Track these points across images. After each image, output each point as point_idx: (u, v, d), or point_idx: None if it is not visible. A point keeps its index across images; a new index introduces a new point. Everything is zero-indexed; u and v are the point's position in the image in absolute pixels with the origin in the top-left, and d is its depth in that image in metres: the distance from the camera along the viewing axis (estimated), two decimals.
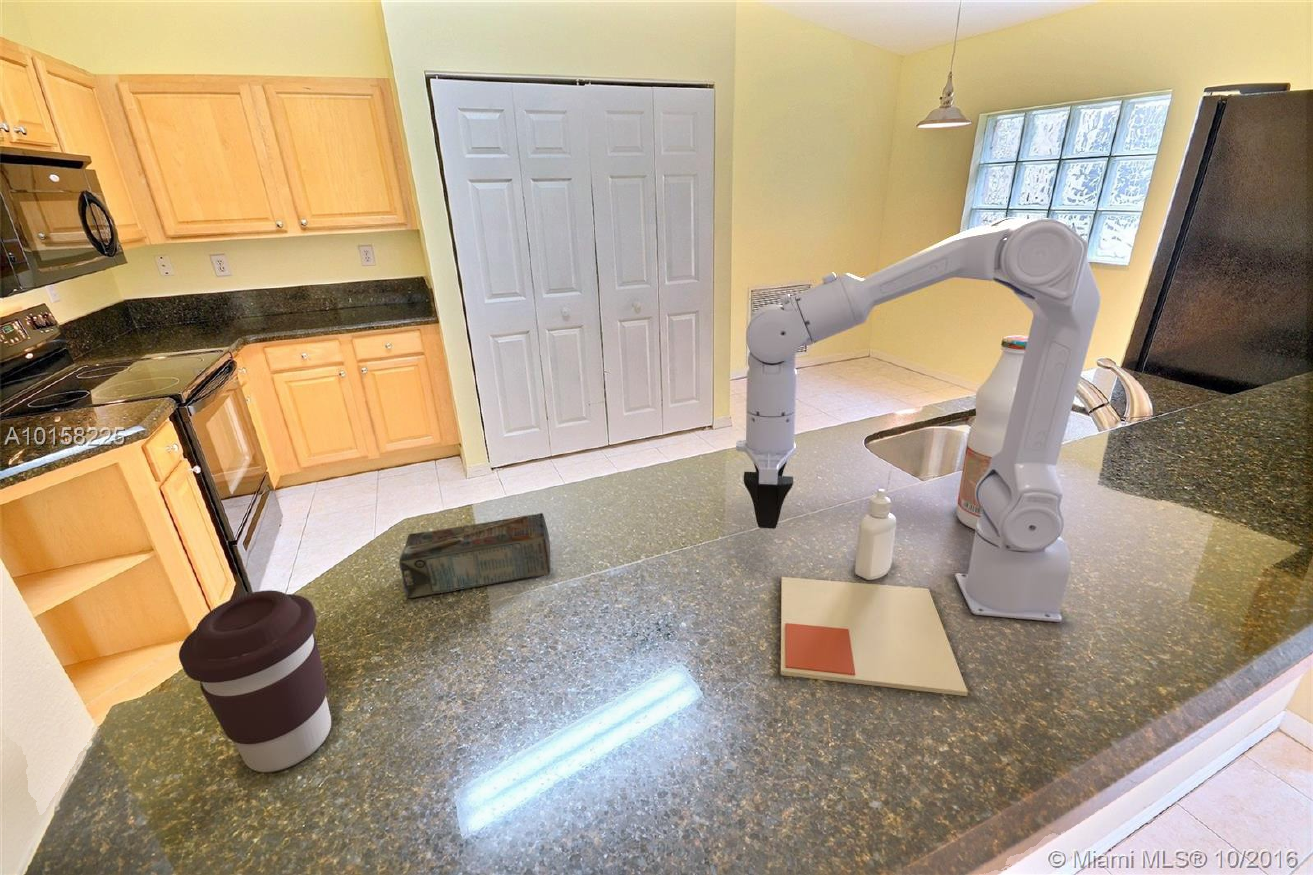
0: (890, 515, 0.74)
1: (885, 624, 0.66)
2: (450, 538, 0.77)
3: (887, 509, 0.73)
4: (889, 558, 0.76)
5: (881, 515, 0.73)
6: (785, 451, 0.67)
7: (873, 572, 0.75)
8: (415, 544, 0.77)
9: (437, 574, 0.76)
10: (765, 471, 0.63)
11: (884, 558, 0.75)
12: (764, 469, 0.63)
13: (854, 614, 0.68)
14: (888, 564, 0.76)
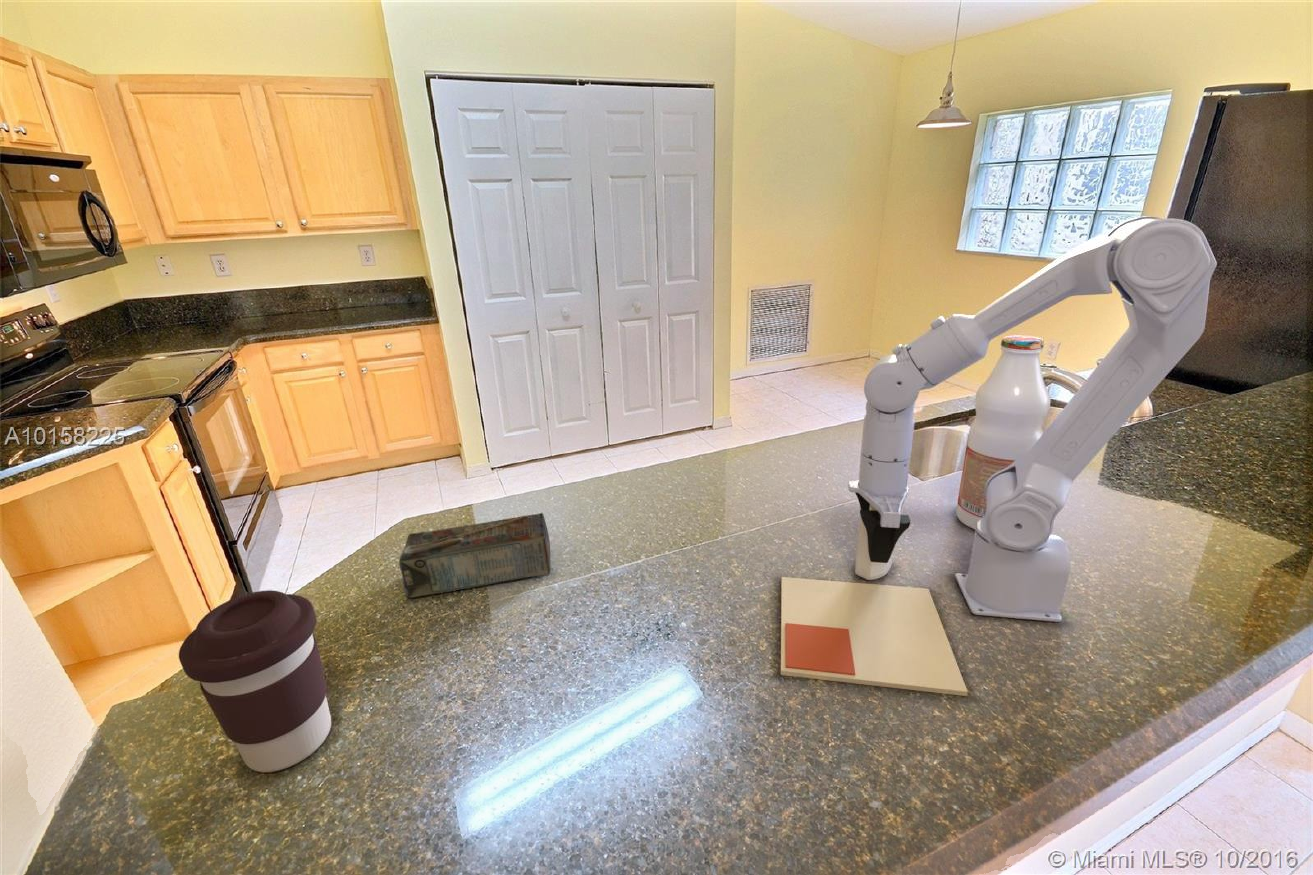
0: None
1: (885, 624, 0.66)
2: (450, 538, 0.77)
3: None
4: None
5: None
6: (900, 494, 0.70)
7: (873, 572, 0.75)
8: (415, 544, 0.77)
9: (437, 574, 0.76)
10: (888, 515, 0.66)
11: None
12: (887, 513, 0.66)
13: (854, 614, 0.68)
14: (888, 564, 0.76)
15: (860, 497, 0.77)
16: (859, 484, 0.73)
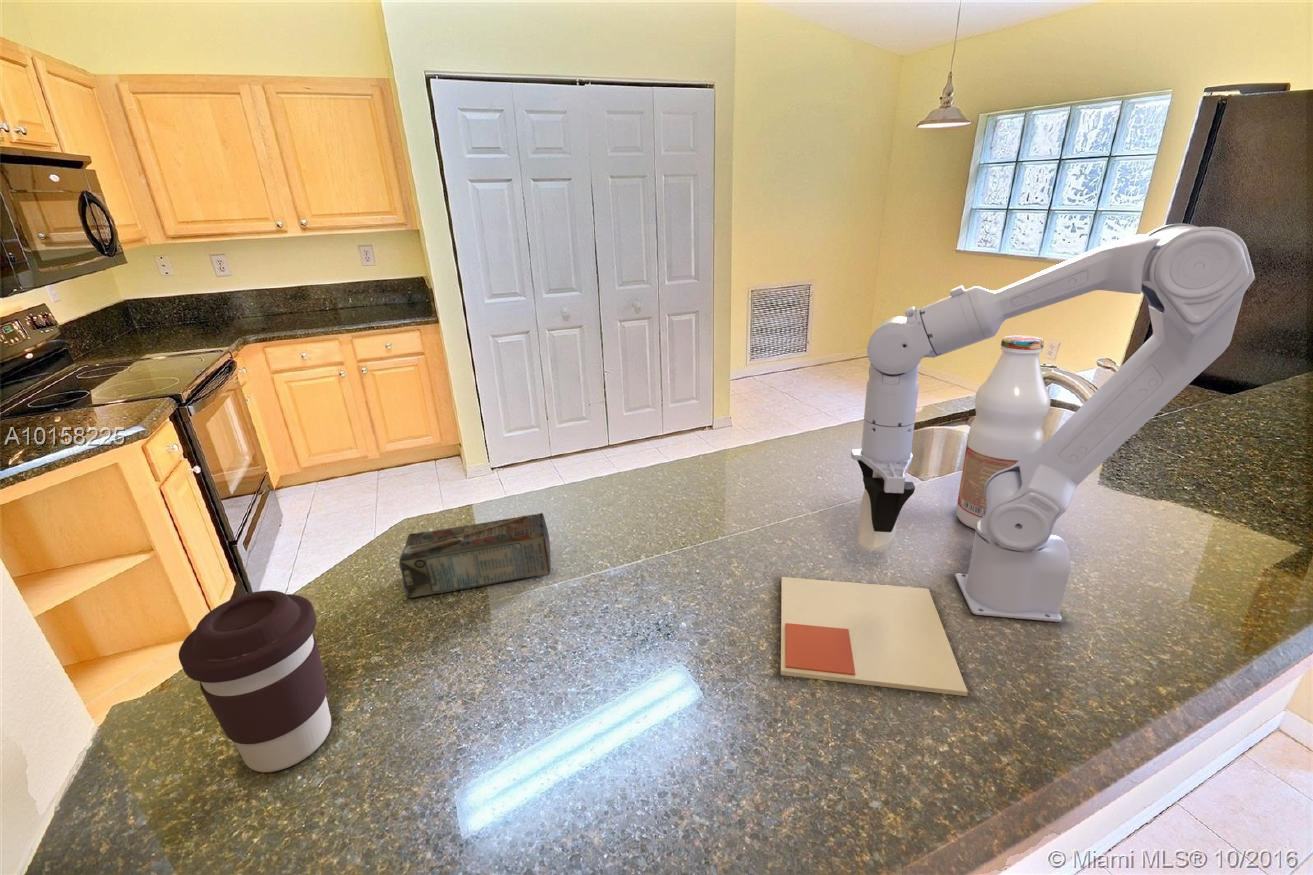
0: None
1: (885, 624, 0.66)
2: (450, 538, 0.77)
3: None
4: (893, 529, 0.74)
5: None
6: (905, 460, 0.69)
7: (876, 543, 0.73)
8: (415, 544, 0.77)
9: (437, 574, 0.76)
10: (892, 480, 0.65)
11: None
12: (891, 478, 0.65)
13: (854, 614, 0.68)
14: (892, 535, 0.74)
15: (863, 466, 0.75)
16: (862, 451, 0.71)
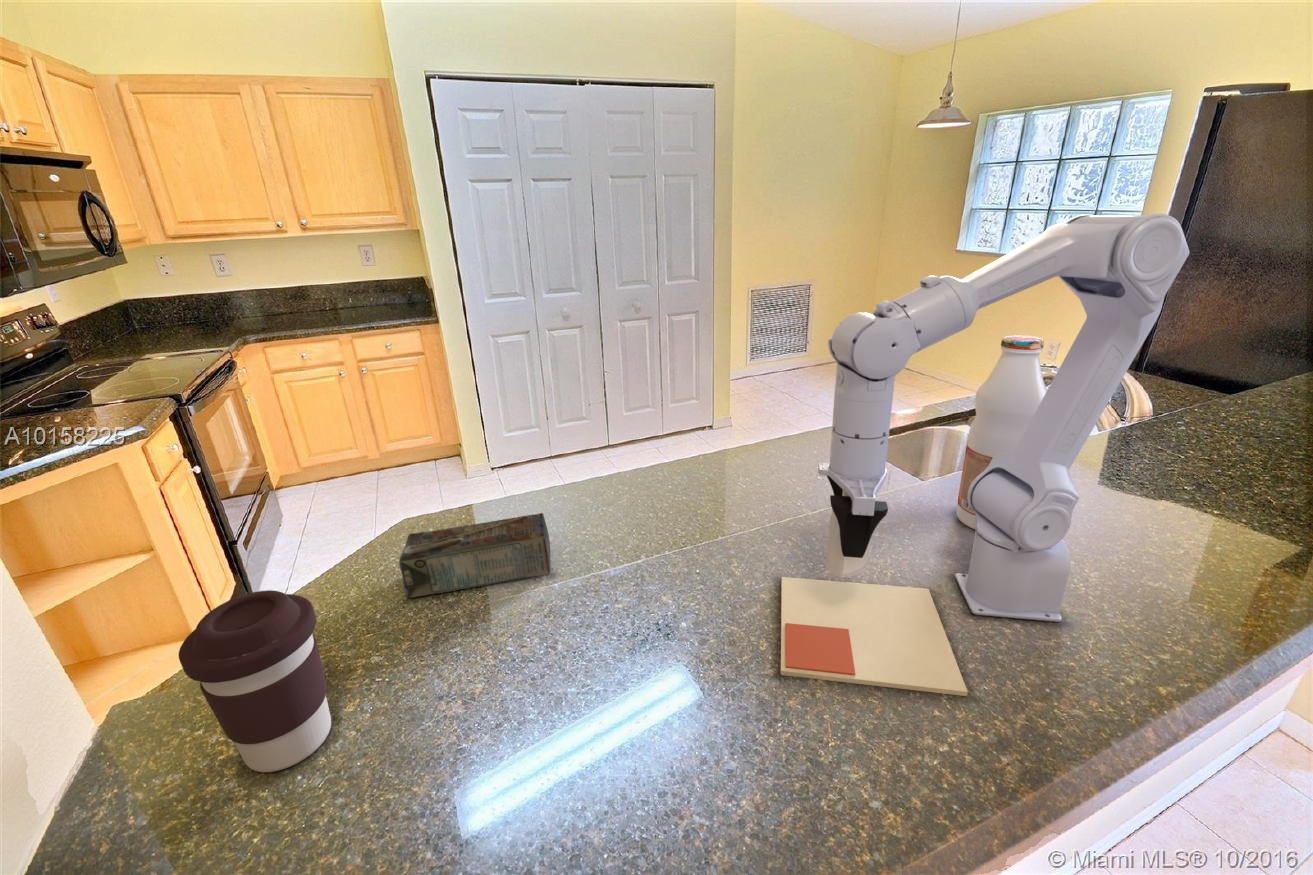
0: None
1: (885, 624, 0.66)
2: (450, 538, 0.77)
3: None
4: (865, 552, 0.65)
5: None
6: (877, 476, 0.60)
7: (846, 569, 0.64)
8: (415, 544, 0.77)
9: (437, 574, 0.76)
10: (861, 501, 0.56)
11: None
12: (860, 498, 0.56)
13: (854, 614, 0.68)
14: (864, 559, 0.66)
15: (833, 482, 0.67)
16: (830, 466, 0.63)
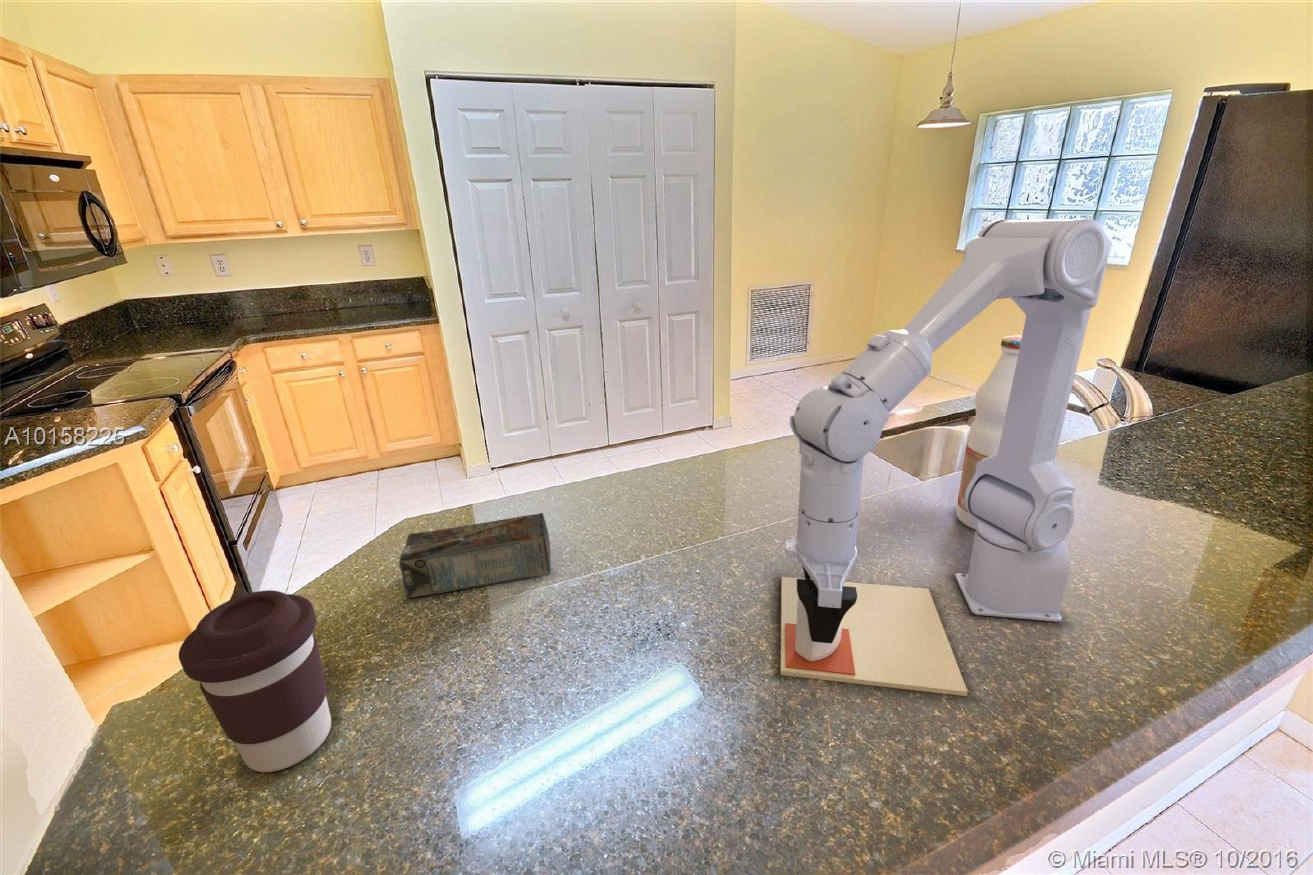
0: None
1: (885, 624, 0.66)
2: (450, 538, 0.77)
3: None
4: (836, 634, 0.61)
5: None
6: (846, 560, 0.56)
7: (816, 652, 0.60)
8: (415, 544, 0.77)
9: (437, 574, 0.76)
10: (827, 593, 0.52)
11: None
12: (825, 590, 0.52)
13: (854, 614, 0.68)
14: (835, 641, 0.62)
15: None
16: (797, 545, 0.59)
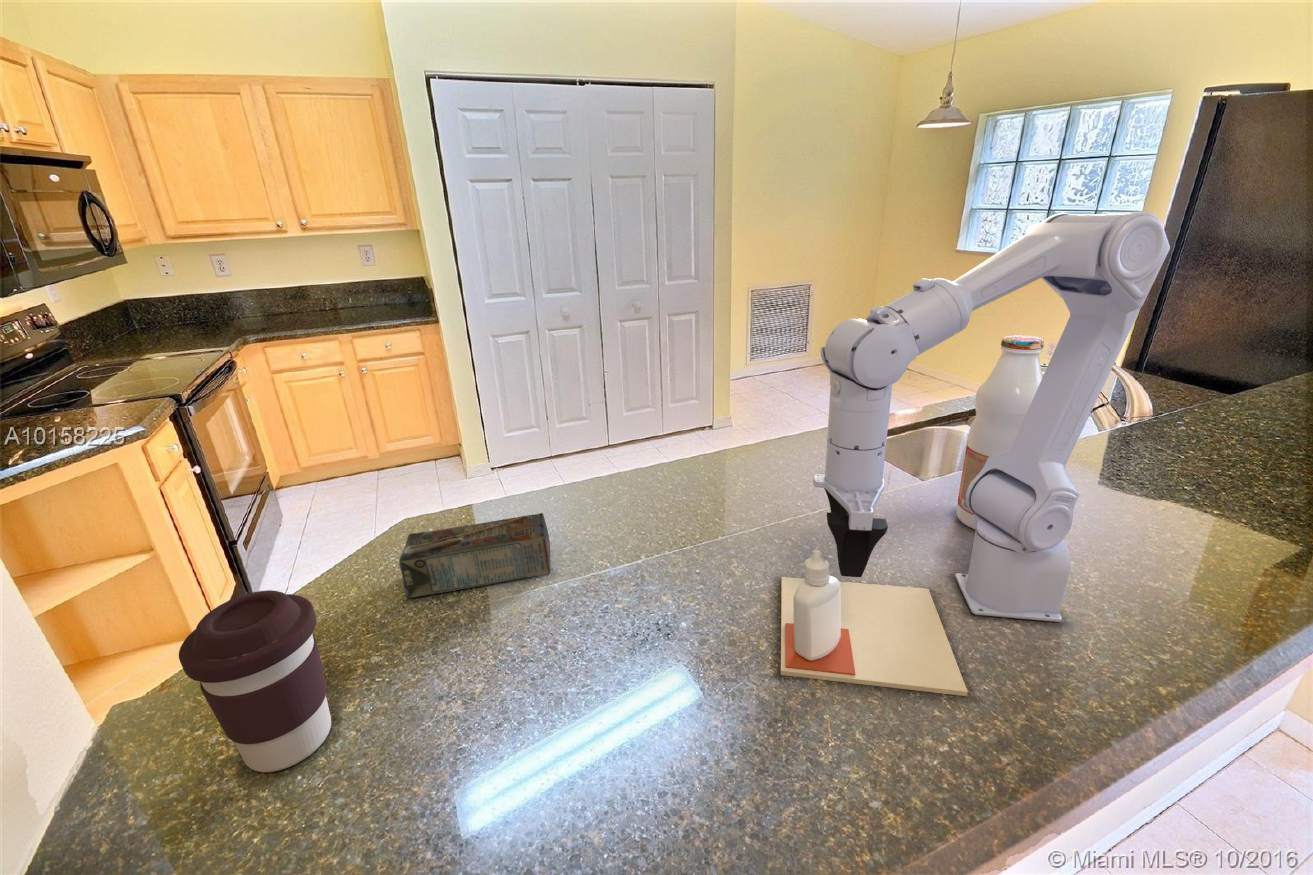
0: (831, 580, 0.60)
1: (885, 624, 0.66)
2: (450, 538, 0.77)
3: (825, 575, 0.59)
4: (835, 632, 0.61)
5: (818, 583, 0.59)
6: (875, 489, 0.58)
7: (814, 652, 0.60)
8: (415, 544, 0.77)
9: (437, 574, 0.76)
10: (858, 515, 0.54)
11: (828, 633, 0.60)
12: (857, 513, 0.54)
13: (854, 614, 0.68)
14: (834, 639, 0.62)
15: None
16: (825, 477, 0.60)
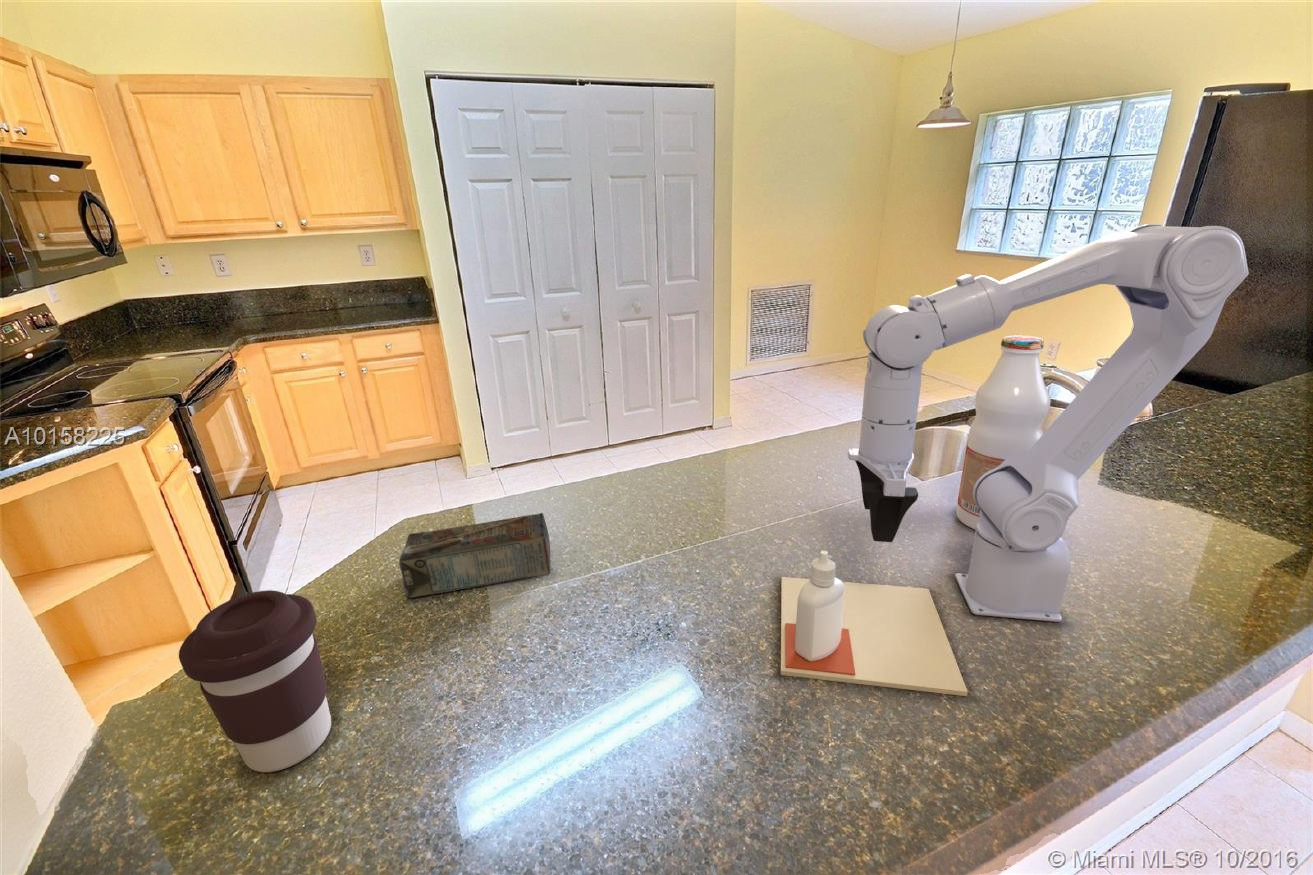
0: (836, 582, 0.60)
1: (885, 624, 0.66)
2: (450, 538, 0.77)
3: (831, 576, 0.59)
4: (836, 634, 0.61)
5: (824, 584, 0.59)
6: (906, 461, 0.64)
7: (815, 652, 0.60)
8: (415, 544, 0.77)
9: (437, 574, 0.76)
10: (892, 482, 0.60)
11: (830, 635, 0.60)
12: (891, 480, 0.60)
13: (854, 614, 0.68)
14: (835, 641, 0.62)
15: (860, 464, 0.71)
16: (860, 451, 0.66)
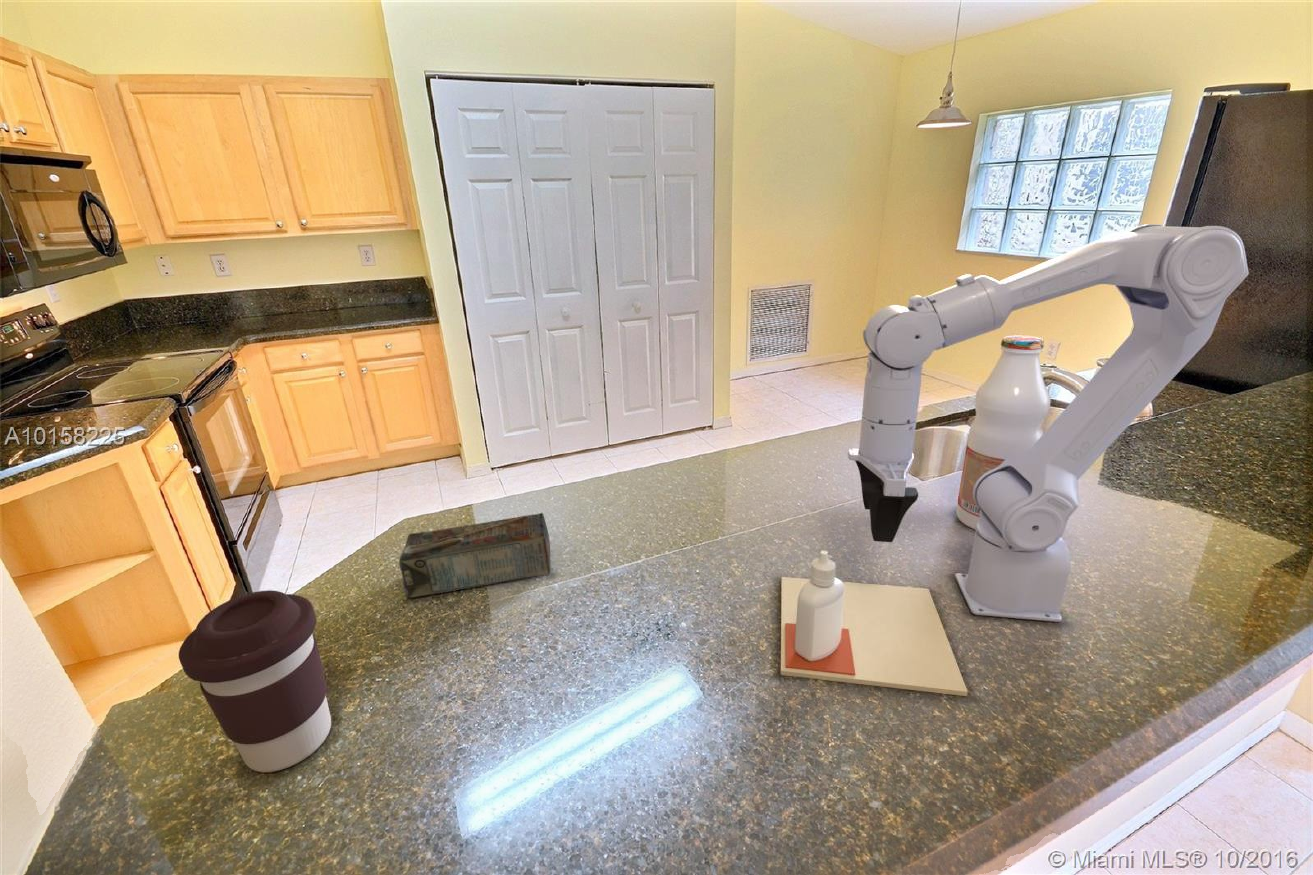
0: (836, 582, 0.60)
1: (885, 624, 0.66)
2: (450, 538, 0.77)
3: (831, 576, 0.59)
4: (836, 634, 0.61)
5: (824, 584, 0.59)
6: (906, 461, 0.64)
7: (815, 652, 0.60)
8: (415, 544, 0.77)
9: (437, 574, 0.76)
10: (892, 482, 0.60)
11: (830, 635, 0.60)
12: (891, 480, 0.60)
13: (854, 614, 0.68)
14: (835, 641, 0.62)
15: (860, 464, 0.71)
16: (860, 451, 0.66)
